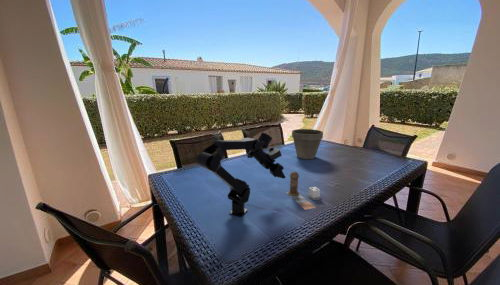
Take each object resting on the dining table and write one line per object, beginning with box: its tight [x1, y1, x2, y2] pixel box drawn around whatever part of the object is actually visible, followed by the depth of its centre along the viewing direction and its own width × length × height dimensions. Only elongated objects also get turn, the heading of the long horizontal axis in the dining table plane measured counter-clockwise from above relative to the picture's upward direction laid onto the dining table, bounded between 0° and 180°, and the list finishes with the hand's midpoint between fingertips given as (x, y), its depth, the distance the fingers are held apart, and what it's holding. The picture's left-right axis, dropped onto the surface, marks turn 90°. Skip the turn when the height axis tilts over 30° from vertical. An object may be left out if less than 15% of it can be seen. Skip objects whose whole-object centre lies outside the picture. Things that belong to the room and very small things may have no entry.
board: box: [285, 191, 316, 211], centre depth 114 cm, size 20×9×1 cm, turn 19°
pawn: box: [287, 171, 300, 197], centre depth 119 cm, size 6×6×13 cm
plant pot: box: [291, 128, 324, 160], centre depth 182 cm, size 25×25×22 cm
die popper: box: [306, 186, 322, 201], centre depth 116 cm, size 7×7×5 cm
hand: (280, 174), depth 115 cm, fingers open, 9 cm apart
